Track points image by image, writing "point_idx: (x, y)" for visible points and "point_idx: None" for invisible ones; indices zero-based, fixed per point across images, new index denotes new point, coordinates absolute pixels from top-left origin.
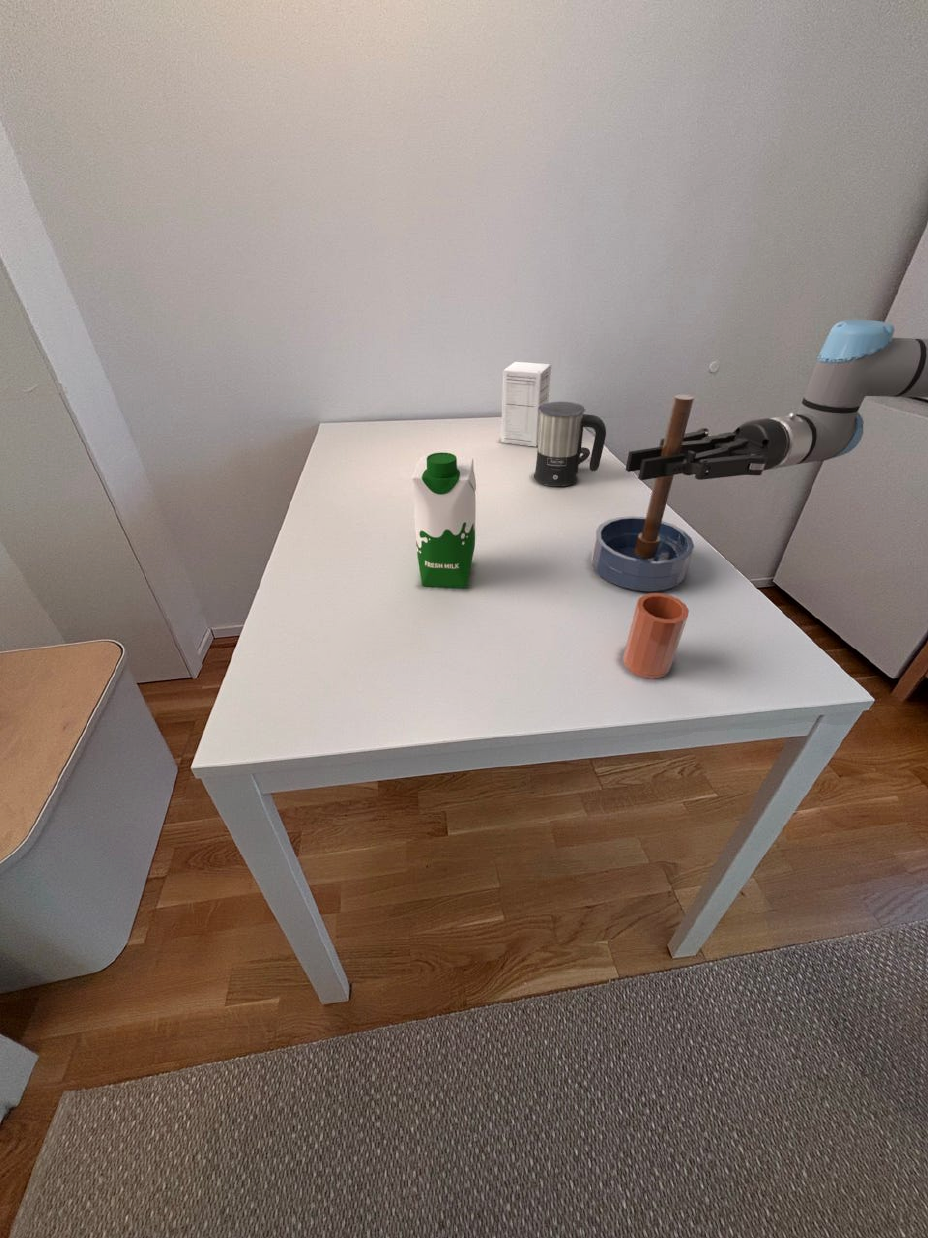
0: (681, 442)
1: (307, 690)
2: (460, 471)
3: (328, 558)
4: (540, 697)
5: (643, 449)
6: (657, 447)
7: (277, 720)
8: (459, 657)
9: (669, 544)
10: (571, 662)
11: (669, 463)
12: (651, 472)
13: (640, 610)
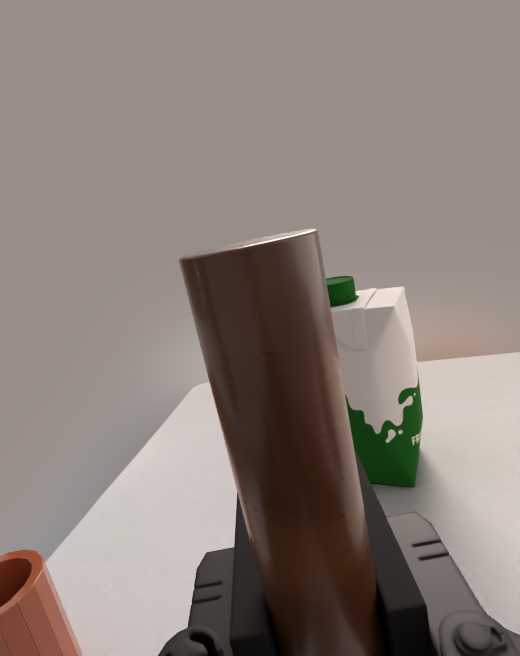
0: (253, 548)
1: None
2: (335, 307)
3: (424, 381)
4: (110, 529)
5: (365, 475)
6: (390, 536)
7: (209, 396)
8: (211, 472)
9: None
10: (130, 574)
11: (225, 559)
12: None
13: (22, 550)
